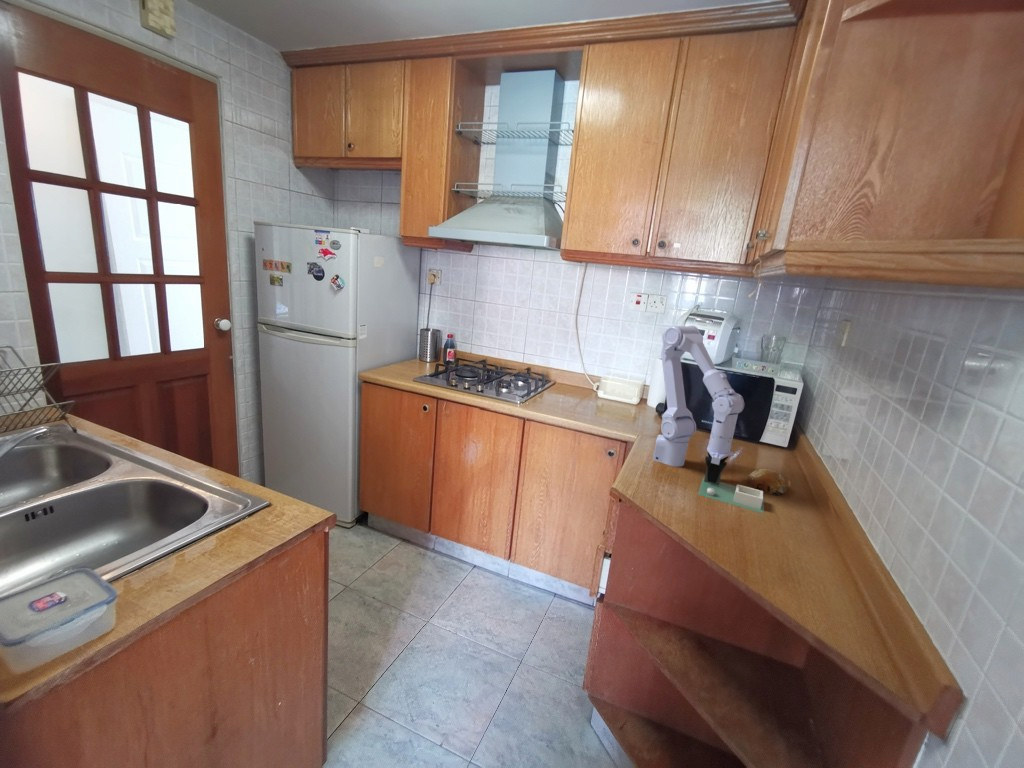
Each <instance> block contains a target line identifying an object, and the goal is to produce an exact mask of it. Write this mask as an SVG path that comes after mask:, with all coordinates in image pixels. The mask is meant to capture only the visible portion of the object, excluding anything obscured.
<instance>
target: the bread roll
mask: <svg viewBox="0 0 1024 768" xmlns="http://www.w3.org/2000/svg"><path fill="white" fill-rule="evenodd" d="M746 482H747V483H748V484H749V485H750V486H751V488H753V489H757V490H760V491H763V494H767V495H768V494H769V495H772V496H776V497H777V496H778V495H783V494H786V492H787V482H786V479H785V478H784V476H783V475H782V474H781V473H778V471H776V470H774V469H770V468H758V469H755V470H754V471H752V472H751V473H749V474H748V476H747V479H746Z"/></svg>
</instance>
